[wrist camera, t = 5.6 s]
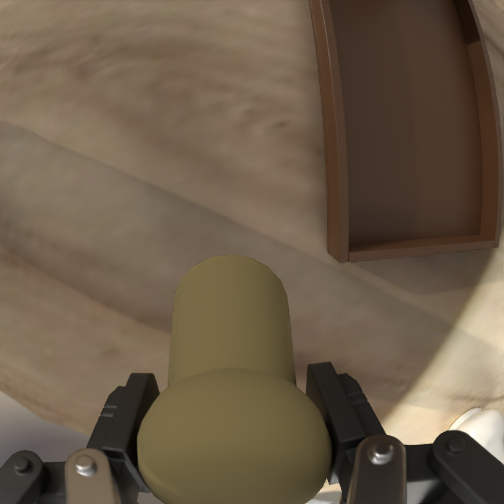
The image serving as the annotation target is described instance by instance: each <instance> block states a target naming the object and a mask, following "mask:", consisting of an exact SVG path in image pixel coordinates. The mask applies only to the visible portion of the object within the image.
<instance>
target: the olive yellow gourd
mask: <svg viewBox="0 0 504 504" xmlns="http://www.w3.org/2000/svg"><path fill="white" fill-rule="evenodd" d="M137 452H138V467H139V471H140V473H141V475H142V477H143V479H144V481H145V483H146V485H147V486H148V488H149V489H150V491H151V492H152V493H153V495H154V496H155V497H156V498H157V499H159V500H160V501H162V502H163V503H164V504H305V503H307V502H308V501H310V500H311V499H313V498H314V496H315V495H316V494H317V493H318V492H319V491H320V489H321V488H322V487H323V485H324V483H325V481H326V478H327V476H328V473H329V470H330V465H331V460H332V440H331V438H330V435H329V432H328V430H327V427H326V425H325V422H324V420H323V418H322V416H321V413H320V411H319V409H318V408H317V407H316V405H315V404H314V403H313V402H312V401H311V399H310V398H309V397H308V396H307V395H305V394H304V393H303V392H302V391H301V390H300V389H298V388H297V387H296V376H295V365H294V355H293V345H292V336H291V326H290V317H289V308H288V299H287V295H286V292H285V290H284V287H283V285H282V282H281V280H280V279H279V278H278V277H277V276H276V275H275V274H274V273H273V272H272V270H271V269H270V268H269V267H267V266H265V265H263V264H262V263H260V262H258V261H256V260H255V259H253V258H248V257H243V256H239V255H224V256H214V257H212V258H210V259H207V260H205V261H203V262H200V263H198V264H197V265H195V266H194V267H193V268H192V269H191V270H190V271H189V272H188V273H187V274H185V275H184V277H183V278H182V280H181V282H180V284H179V286H178V288H177V289H176V292H175V299H174V306H173V316H172V328H171V341H170V356H169V374H168V388H167V389H166V390H164V391H163V392H161V393H160V395H159V396H158V397H157V399H156V400H155V401H154V403H153V404H152V405H151V407H150V409H149V410H148V412H147V414H146V415H145V417H144V419H143V420H142V423H141V426H140V429H139V432H138V435H137Z"/></svg>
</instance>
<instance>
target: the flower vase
mask: <svg viewBox="0 0 504 504" xmlns="http://www.w3.org/2000/svg"><path fill="white" fill-rule="evenodd" d="M449 430H460V431H463V432H465V433H467V434H469V435H470V436H471V437H472V438H474V439H475V440H476V441H477V442H478V443H479V444H481V445H482V446H483V447H484V448H485V449H486V450H488V451H489V452H490V453H491V454H492V455H493V456H495V457H496V458H497V459H498V460H499V461H500V462H502V463H503V464H504V416H503V414H502V413H501V412H500V411H498V410H496V409H486V410H482V409H481V408H473V409H471V410H469V411H467V412H466V413H464V414H463V415H462V416H460V417H459V418H458V419H457V420H456V421H455V422H454V423H453V424H452V425H451V427H450V428H449ZM449 430H448V431H449Z"/></svg>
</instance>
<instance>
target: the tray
mask: <svg viewBox="0 0 504 504" xmlns="http://www.w3.org/2000/svg"><path fill="white" fill-rule="evenodd" d="M309 6H310V12H311V18H312V25H313V32H314V39H315V46H316V54H317V63H318V72H319V81H320V91H321V102H322V114H323V127H324V142H325V160H326V184H327V233H328V251H327V252H328V253H329V254H330V255H331V256H333V257H334V258H335V259H336V260H337V261H338V262H339V263H346V262H357V261H368V260H379V259H390V258H401V257H411V256H421V255H431V254H441V253H451V252H460V251H470V250H479V249H488V248H497V247H499V238H500V228H501V216H502V196H503V160H502V140H501V128H500V118H499V110H498V102H497V96H496V89H495V84H494V78H493V73H492V68H491V64H490V59H489V55H488V51H487V47H486V43H485V40H484V36H483V33H482V29H481V26H480V23H479V20H478V17H477V14H476V11H475V8H474V5H473V3H472V0H309Z"/></svg>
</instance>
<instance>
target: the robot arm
mask: <svg viewBox="0 0 504 504" xmlns="http://www.w3.org/2000/svg"><path fill="white" fill-rule="evenodd" d="M159 395H160V392H159V389H158V386H157V382H156V379H155V376H154V374H152V373H131V375H130V377H129V379H128V381H127V384H126V386H125V387H123V386H118V387H117V388H116V389H115V390H114V391H113V392H112V393H111V394H110V395H109V396H108V399H107V401H106V403H105V405H104V406H105V407H104V408H103V410H102V412H101V416H99V419H98V421H97V423H96V426H95V428H94V430H93V433H92V435H91V437H90V440H89V442H88V444H87V447H86V448H84V449H79V450H77V451H75V452H73V453H72V454H71V455H70V456H69V457H68V458H67V460H66V461H65V462H45V463H44V462H43V461H42V460H41V459H40V457H39V456H38V455H37V454H36V453H34V452H32V451H27V450H23V451H19V452H16V453H14V454H13V455H12V456H11V457H10V458H9V459H8V460H7V461H6V462H5V464H4V465H3V466H2V467H1V468H0V504H138V502H137V498H138V493H139V492H145V493H150V489H149V488H148V486H147V485H146V483H145V481H144V479H143V477H142V475H141V473H140V471H139V467H138V452H137V435H138V432H139V429H140V426H141V423H142V420H143V419H144V417H145V415H146V414H147V412H148V410H149V409H150V407H151V405H152V404H153V403H154V401H155V400H156V399H157V397H158V396H159ZM306 395H307V396H308V397H309V398H310V399H311V401H312V402H313V403H314V404H315V405H316V407H317V408H318V409H319V411H320V413H321V416H322V418H323V420H324V422H325V425H326V427H327V430H328V432H329V435H330V438H331V440H332V460H331V465H330V470H329V473H328V476H327V479H328V482H329V485H331V484H336V483H339V484H340V487H341V490H342V493H341V496H340V501H339V504H504V464H503V463H502V462H500V461H499V460H498V459H497V458H496V457H495V456H493V455H492V454H491V453H490V452H489V451H488V450H486V449H485V448H484V447H483V446H482V445H481V444H479V443H478V442H477V441H476V440H475V439H474V438H472V437H471V436H470V435H469V434H467V433H465V432H463V431H460V430H449V431H445V432H443V433H441V434H440V435H439V436H438V437H437V438H436V439H435V441H434V443H433V444H421V445H404V444H403V443H402V442H401V441H400V440H398V439H397V438H395V437H393V436H390V435H387V434H386V433H385V431H384V429H383V427H382V426H381V424H380V422H379V420H378V418H377V416H376V415H375V413H374V411H373V409H372V407H371V406H370V404H369V402H367V398H366V397H365V395H364V394H363V391H362V389H361V388H360V386H359V384H358V382H357V381H356V380H355V379H353V378H352V377H351V376H349V375H348V374H347V373H345V374H339V375H337V373H336V371H335V369H334V367H333V365H332V364H331V362H323V363H316V364H309V365H308V368H307V383H306Z"/></svg>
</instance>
